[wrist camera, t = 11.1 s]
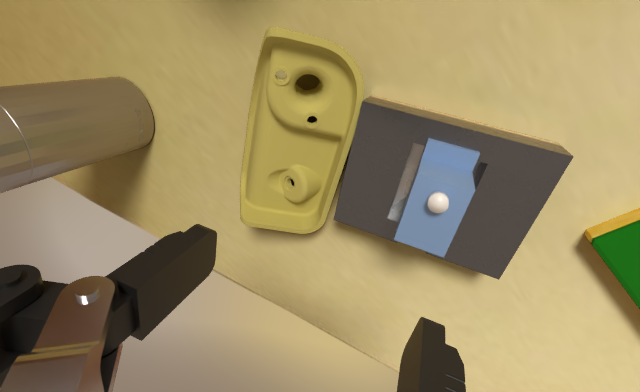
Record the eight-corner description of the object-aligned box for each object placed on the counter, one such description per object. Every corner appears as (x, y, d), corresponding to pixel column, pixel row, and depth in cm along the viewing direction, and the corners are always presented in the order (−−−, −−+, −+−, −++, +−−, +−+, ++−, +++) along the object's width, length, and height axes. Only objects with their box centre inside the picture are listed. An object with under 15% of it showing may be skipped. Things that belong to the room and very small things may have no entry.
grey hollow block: (344, 203, 36) (333, 219, 32) (372, 94, 30) (362, 100, 27) (494, 255, 32) (498, 279, 29) (557, 142, 26) (573, 156, 23)
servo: (400, 214, 33) (386, 259, 26) (430, 129, 28) (423, 156, 21) (439, 227, 32) (436, 278, 25) (476, 142, 28) (485, 174, 21)
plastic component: (320, 236, 36) (229, 223, 34) (316, 198, 42) (239, 185, 40) (381, 54, 25) (253, 19, 23) (365, 37, 31) (262, 8, 29)
